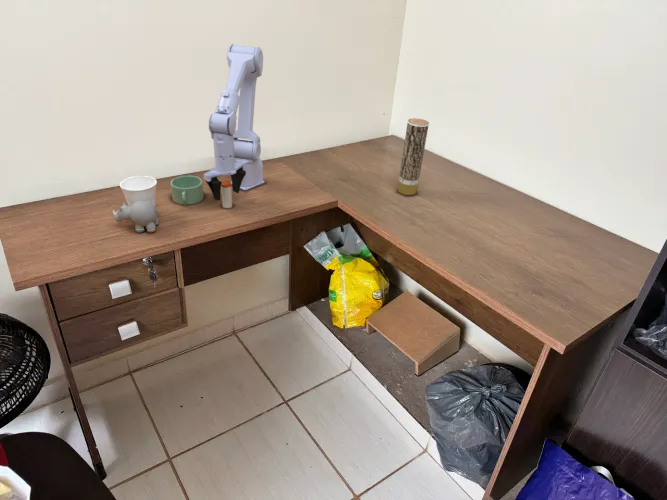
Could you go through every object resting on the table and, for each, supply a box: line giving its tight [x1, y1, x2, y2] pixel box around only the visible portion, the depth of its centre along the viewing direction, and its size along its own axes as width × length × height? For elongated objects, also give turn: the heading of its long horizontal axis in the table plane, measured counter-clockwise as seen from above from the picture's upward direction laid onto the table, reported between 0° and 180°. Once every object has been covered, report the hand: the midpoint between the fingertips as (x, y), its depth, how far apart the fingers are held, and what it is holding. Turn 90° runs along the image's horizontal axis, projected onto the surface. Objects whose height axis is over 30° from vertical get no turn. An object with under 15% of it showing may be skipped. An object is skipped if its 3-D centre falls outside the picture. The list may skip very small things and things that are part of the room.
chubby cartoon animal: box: [112, 200, 160, 233], centre depth 134 cm, size 7×12×8 cm, turn 91°
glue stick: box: [220, 180, 233, 209], centre depth 149 cm, size 3×3×8 cm
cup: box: [119, 175, 158, 207], centre depth 139 cm, size 10×10×11 cm
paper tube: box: [397, 118, 430, 196], centre depth 161 cm, size 7×7×25 cm
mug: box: [170, 175, 205, 206], centre depth 151 cm, size 12×10×6 cm
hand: (226, 195), depth 149 cm, fingers open, 7 cm apart
